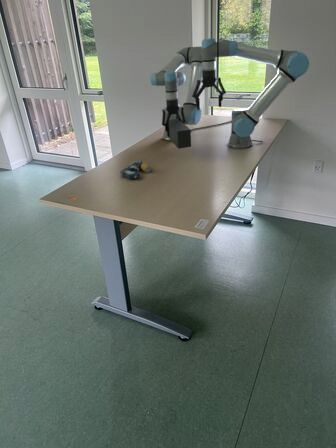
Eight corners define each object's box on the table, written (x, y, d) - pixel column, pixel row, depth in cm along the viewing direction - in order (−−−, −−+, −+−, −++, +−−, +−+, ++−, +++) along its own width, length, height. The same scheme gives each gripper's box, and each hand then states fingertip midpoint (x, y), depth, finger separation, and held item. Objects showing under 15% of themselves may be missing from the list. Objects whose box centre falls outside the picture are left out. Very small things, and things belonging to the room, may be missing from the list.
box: (167, 136, 223) (166, 120, 217) (179, 134, 224) (178, 118, 218) (178, 148, 200) (177, 131, 194) (191, 146, 201) (190, 129, 195)
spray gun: (156, 167, 200) (135, 165, 206) (156, 160, 198) (134, 158, 204) (139, 182, 185) (117, 179, 191) (138, 174, 183) (115, 172, 189)
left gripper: (157, 102, 203) (160, 138, 215) (189, 97, 206) (191, 134, 218) (154, 99, 209) (157, 135, 221) (186, 95, 213) (188, 131, 224)
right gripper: (189, 72, 184) (191, 112, 195) (231, 67, 189) (231, 106, 200) (185, 71, 191) (187, 109, 202) (226, 66, 195) (226, 104, 206)
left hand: (174, 134), depth 220 cm, fingers closed on box, 8 cm apart
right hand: (209, 108), depth 201 cm, fingers open, 13 cm apart
